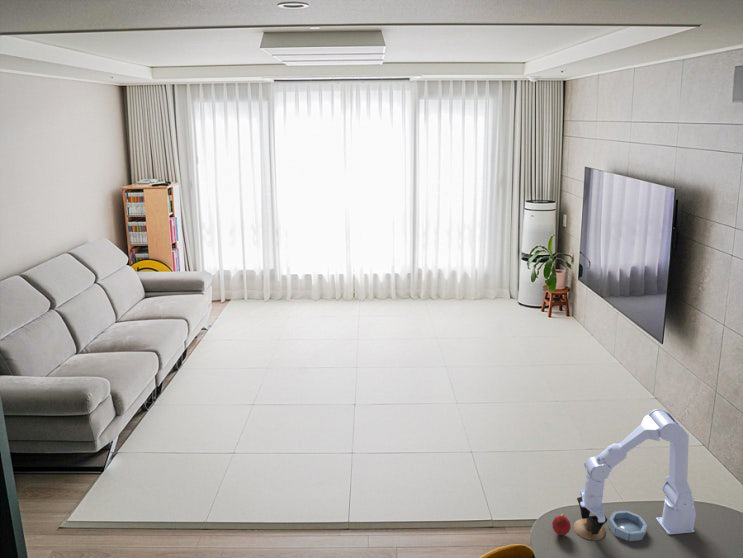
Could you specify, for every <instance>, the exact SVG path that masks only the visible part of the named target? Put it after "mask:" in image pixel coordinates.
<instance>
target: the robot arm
mask: <svg viewBox="0 0 743 558" xmlns="http://www.w3.org/2000/svg"><path fill="white" fill-rule="evenodd" d="M660 438H661V439H662V440H664V441H666V442H669V459H668V460H669V461H668V462H669V464H668V466H669V467H668V471H669V473H668V475H667V476H666V477H665V478H664V479H665V481H664V483H663V485H662V489H661V490H662V491H663V493H664V503H663V510H662V514H661V515H662V516H660V517H655V520H656V521H657V522H658V524H659V525H660V526H661V528H662V529H663V530H664V531H665V533H666V534H667V535H677V534H686V533H687V534H689V533H695V529H694V526H695V521H696V517H697V513H696V512H697V511H696V508H695V499H694V498H693V497H692V490H691V487H690V485H689V483H688V465H689V462H688V461H689V438H690V437H689V434H688V432H687V431H686V430H685V429H684V428H683V427H682V426H681V424H680V423H679V422H678V421H677V420H676V419H675V417H673V416H672V415H671V413H670V412H669V411H666V410H664V409H663V408H654V409H653V410H651V411H650V412H649V413H648V414H647V415H645V416H644V417H643V419H642V421H641V423H640V424H639V425H638V426H637V427H636V428H635V429H634V430H633V431H632V432H630V433H629V434H628V435H627V436H626V437H625V438H623V440H621V441H620V442H619V443H615V442H614V443H612V444H610V445H608V446H607V447H606V448H605V449H604V450H603V451H602V452H600V453H598V455H595V456H590V457H589V458H587V459H586V462H584V463H583V465H584V468H585V469H586V477H585V483H584V485H585V486H584V488H582V489H580V490H579V491H580V492H579V495H580V497H577V498H576V500H577V502H578V505H579V509H580V516H581V519H587V518H589V519H590V522H591V533H592V534H593V535H594V534H598V533H599V531H600V529H601V527H602V526H603V527H604V524H606V523H608V517H607V516H606V515H605V514H604V513H605V512H604V508H603V497H604V490H605V489H604V488H605V480H606V479H608V478H609V476H610V473H611V472H612V470H613V469H614V468H615V467H617V465H619V464H621V462H623V461H624V460H625V459H626V458H627V454H628V452H630V451H631V450H632V449H634V448H636V447H637V446H639V445H640V444H642V443H644V442H646V441H647V440H653V441H656V442H657V441H658V442H660V441H661V439H660ZM591 513H592V514H593V515H590V514H591Z"/></svg>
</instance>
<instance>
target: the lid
mask: <svg viewBox="0 0 743 558" xmlns="http://www.w3.org/2000/svg"><path fill="white" fill-rule="evenodd" d="M573 529H574V532H575V533H576V535H578V536H579V537H581V538H583V539H584V540H585V539H586V540H589V541H599V540H602V539H603V538H604V537H605V535H606V530H605V527H604V525H603V526H602V527H601V529H600V531H599V533H598V534H594V535H593V534H592V533H591V522H590V519H589V518H587V519H582V518H580V519H577V520H576V521H575V522H574V524H573Z"/></svg>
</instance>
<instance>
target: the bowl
mask: <svg viewBox="0 0 743 558" xmlns="http://www.w3.org/2000/svg"><path fill="white" fill-rule="evenodd" d="M647 527H648V525H647V523H646V522H645V520H644V518H642V516H641V515H639V514H636V513H634V512H631V511H630V510H619V511H618V510H617V511H616V510H615V511H613V512H612V514H610V516H609V520H608V528H609V529H610V531H611V532H612V534H613V535H614V536H615V537H618V538H619V539H622V540H625V541H626V542H634V541H635V542H636V541H642V540H643V539H644V537H645V535H646V534H647Z"/></svg>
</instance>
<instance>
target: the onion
mask: <svg viewBox="0 0 743 558" xmlns="http://www.w3.org/2000/svg"><path fill="white" fill-rule="evenodd" d="M551 524H552V525H551V526H552V529H553V531H554V533H556V534H557V535H559V536H565V535H567V534H568V533H569V532H570V531H571V522H570V520H569V518H568V517H566V516H565V514H564V513H561V514H560V515H558V516H556V517H554V519H553V520H552V523H551Z"/></svg>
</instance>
